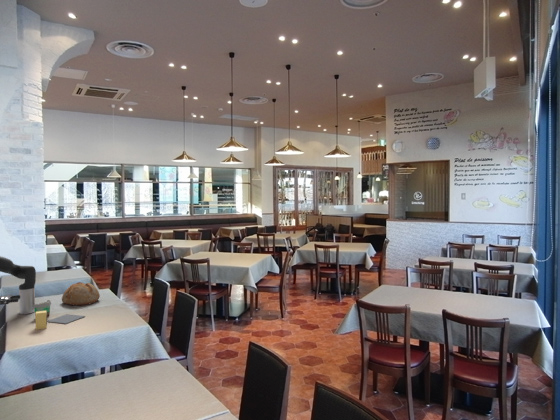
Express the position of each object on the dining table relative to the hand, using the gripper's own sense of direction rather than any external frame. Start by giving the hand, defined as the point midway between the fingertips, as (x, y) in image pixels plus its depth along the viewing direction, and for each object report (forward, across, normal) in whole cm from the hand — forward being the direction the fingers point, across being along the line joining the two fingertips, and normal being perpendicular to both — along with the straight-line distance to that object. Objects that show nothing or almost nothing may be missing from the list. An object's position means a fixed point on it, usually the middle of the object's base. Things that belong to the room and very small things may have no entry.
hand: (19, 298), depth 234 cm
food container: (+11, +26, +20) cm, 34 cm away
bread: (+33, +57, +20) cm, 69 cm away
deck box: (+11, 0, +20) cm, 23 cm away
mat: (+24, +12, +20) cm, 34 cm away
